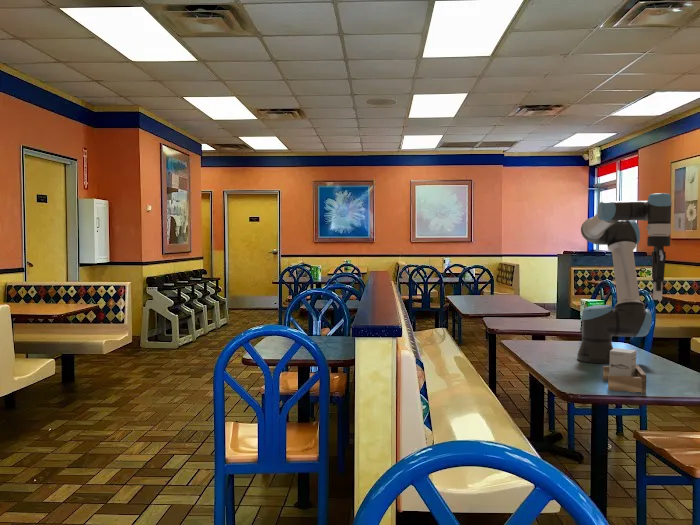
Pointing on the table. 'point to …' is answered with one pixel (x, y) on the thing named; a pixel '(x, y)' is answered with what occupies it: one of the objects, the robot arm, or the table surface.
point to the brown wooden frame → (626, 381)
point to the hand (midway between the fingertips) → (657, 299)
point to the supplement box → (622, 362)
